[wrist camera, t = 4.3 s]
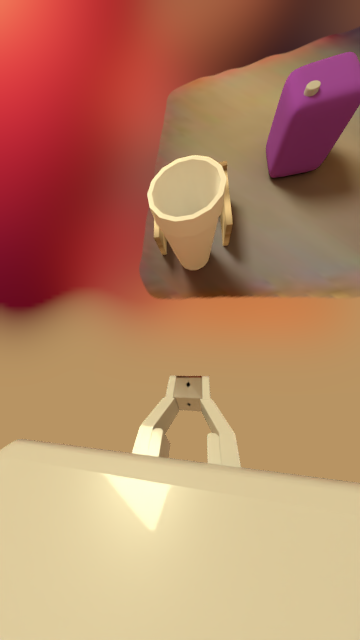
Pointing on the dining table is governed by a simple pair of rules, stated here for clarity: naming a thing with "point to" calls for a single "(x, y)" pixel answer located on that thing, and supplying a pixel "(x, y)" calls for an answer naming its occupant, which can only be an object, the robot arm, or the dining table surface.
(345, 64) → the toy camera
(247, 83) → the dining table surface
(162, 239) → the cup holder
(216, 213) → the foam cup
